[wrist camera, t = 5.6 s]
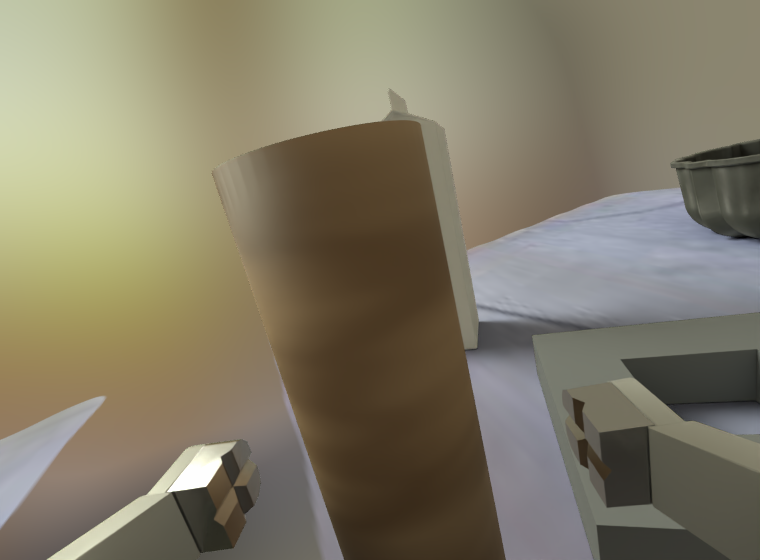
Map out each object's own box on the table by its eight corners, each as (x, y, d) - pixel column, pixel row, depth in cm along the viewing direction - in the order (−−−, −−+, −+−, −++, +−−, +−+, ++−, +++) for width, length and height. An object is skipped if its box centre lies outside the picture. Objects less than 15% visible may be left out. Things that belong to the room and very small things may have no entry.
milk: (479, 321, 36) (439, 89, 31) (477, 350, 30) (428, 73, 25) (421, 327, 38) (374, 110, 33) (409, 355, 32) (351, 99, 27)
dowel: (373, 747, 10) (157, 181, 6) (402, 580, 14) (283, 175, 10) (540, 791, 9) (396, 104, 5) (519, 592, 13) (432, 133, 9)
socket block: (603, 591, 12) (596, 525, 11) (537, 373, 25) (531, 335, 24) (1307, 663, 8) (1365, 563, 7) (791, 355, 21) (793, 308, 20)
